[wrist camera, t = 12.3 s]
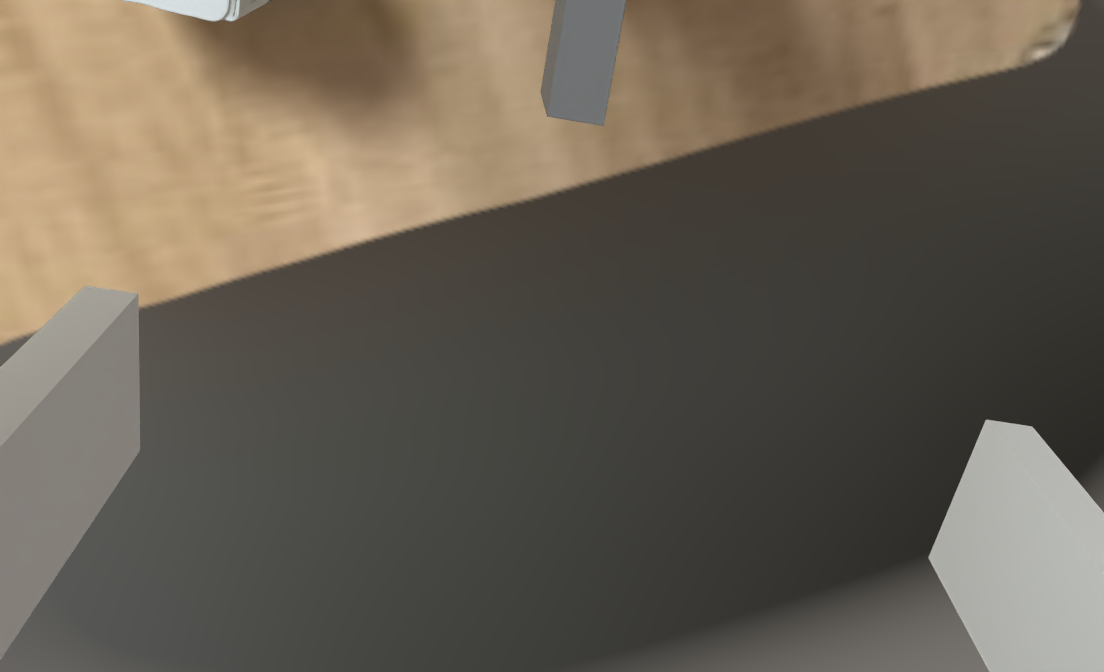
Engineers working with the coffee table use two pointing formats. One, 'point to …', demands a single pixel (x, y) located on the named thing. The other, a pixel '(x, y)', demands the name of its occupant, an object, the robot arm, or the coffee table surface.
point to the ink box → (207, 8)
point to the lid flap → (581, 59)
